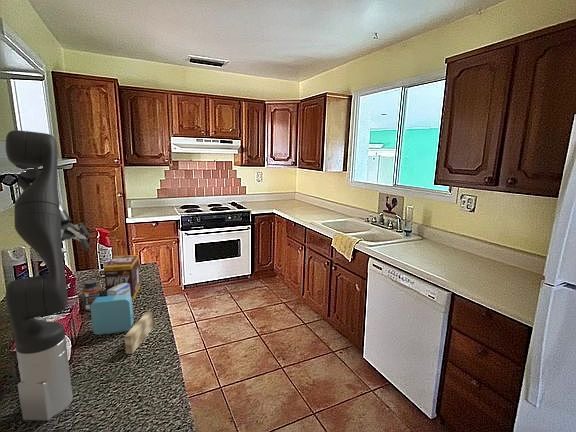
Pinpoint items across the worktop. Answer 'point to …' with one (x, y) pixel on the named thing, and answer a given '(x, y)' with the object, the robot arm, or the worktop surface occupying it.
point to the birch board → (139, 332)
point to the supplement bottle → (90, 293)
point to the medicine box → (119, 290)
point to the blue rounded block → (112, 314)
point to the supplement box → (123, 273)
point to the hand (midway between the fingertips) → (75, 254)
